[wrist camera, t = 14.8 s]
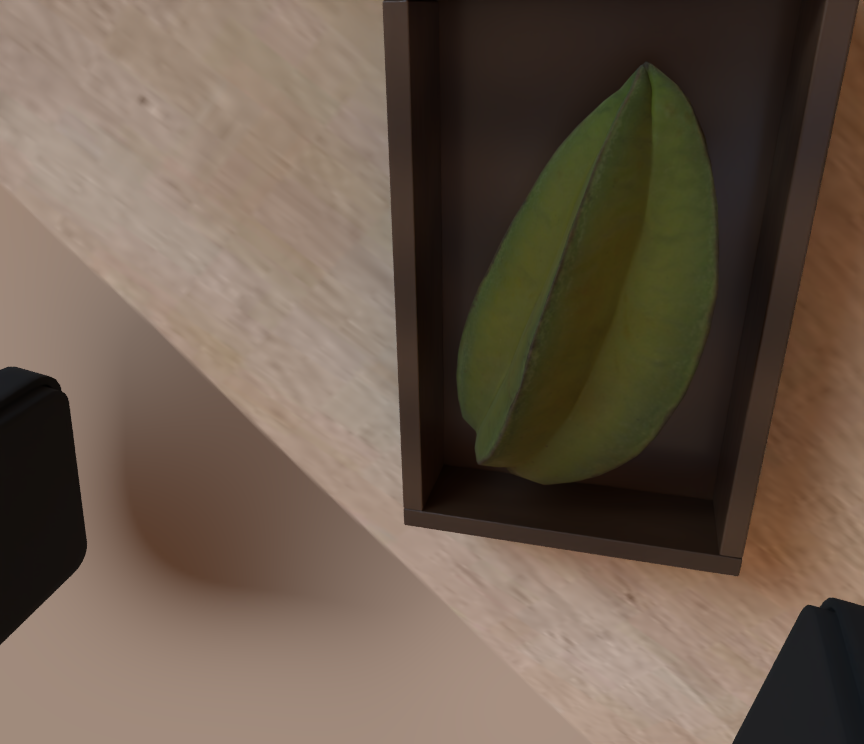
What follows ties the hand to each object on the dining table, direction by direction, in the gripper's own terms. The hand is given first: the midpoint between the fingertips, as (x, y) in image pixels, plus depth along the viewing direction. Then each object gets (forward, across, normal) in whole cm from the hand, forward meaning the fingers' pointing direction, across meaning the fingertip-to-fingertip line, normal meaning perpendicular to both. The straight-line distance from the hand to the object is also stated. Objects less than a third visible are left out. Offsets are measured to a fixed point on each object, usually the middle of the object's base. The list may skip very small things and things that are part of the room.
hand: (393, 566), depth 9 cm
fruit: (+13, -2, +3) cm, 14 cm away
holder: (+20, -1, +3) cm, 20 cm away
